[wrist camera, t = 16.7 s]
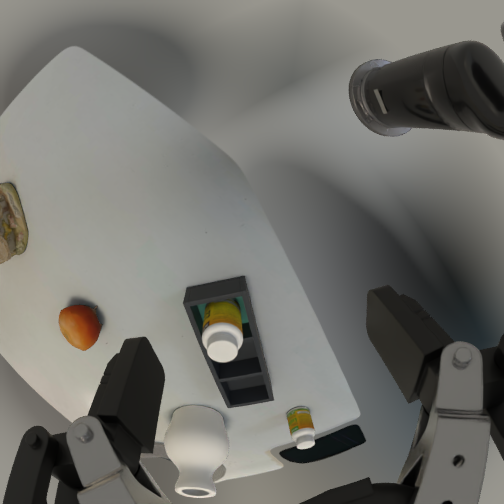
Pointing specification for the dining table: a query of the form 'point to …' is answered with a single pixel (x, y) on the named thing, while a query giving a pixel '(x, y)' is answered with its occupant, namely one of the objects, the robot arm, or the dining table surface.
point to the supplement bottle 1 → (222, 330)
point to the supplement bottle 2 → (301, 427)
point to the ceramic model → (11, 224)
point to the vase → (196, 448)
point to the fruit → (80, 326)
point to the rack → (249, 354)
